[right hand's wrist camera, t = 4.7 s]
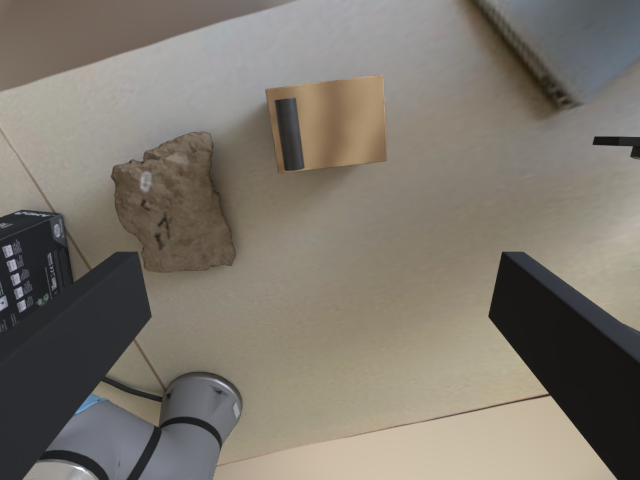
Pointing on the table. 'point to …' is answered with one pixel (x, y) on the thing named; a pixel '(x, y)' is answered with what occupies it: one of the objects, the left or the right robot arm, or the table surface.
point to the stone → (174, 206)
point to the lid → (328, 123)
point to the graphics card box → (31, 263)
